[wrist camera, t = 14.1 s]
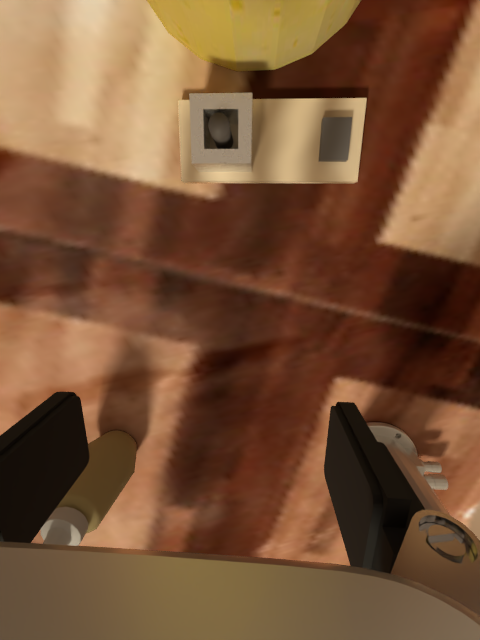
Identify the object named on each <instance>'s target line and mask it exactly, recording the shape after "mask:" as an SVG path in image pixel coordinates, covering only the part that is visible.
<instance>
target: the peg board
mask: <svg viewBox="0 0 480 640" xmlns="http://www.w3.org/2000/svg"><path fill="white" fill-rule="evenodd" d="M252 100H253V123H252V172H199V171H198V170H197V169H196V168H195V167H194V166H193V164H192V159H191V129H190V100H178V113H179V137H180V160H181V181H182V182H183V183H355V182H357V180H358V172H359V163H360V154H361V145H362V136H363V127H364V118H365V110H366V101H367V98H311V99H252ZM208 127H209V130H210V149H238V125H230V124H229V120H228V118H227V117H226V115H224V114H223V113H215V114H213V115H212V116H211V117H210V119H209V122H208Z"/></svg>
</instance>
